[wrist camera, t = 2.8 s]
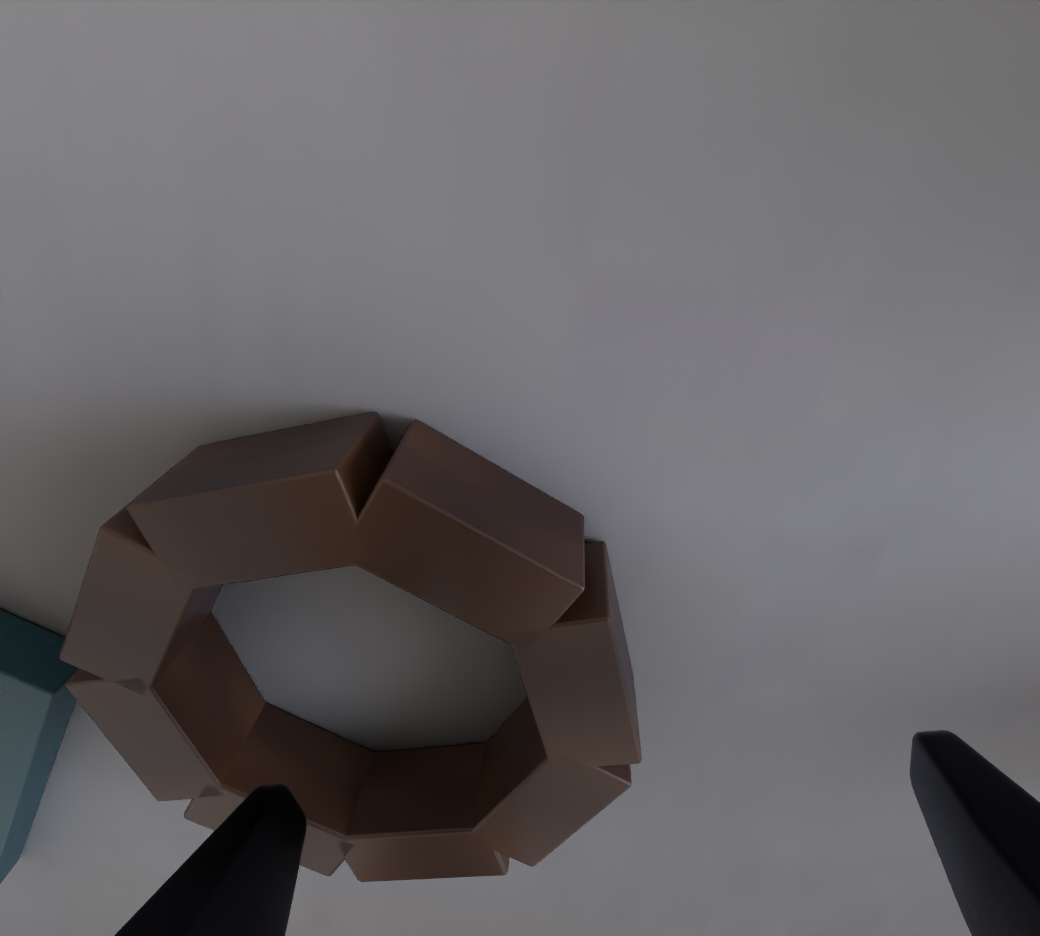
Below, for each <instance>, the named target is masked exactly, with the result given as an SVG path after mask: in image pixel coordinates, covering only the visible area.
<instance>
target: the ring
mask: <svg viewBox="0 0 1040 936" xmlns="http://www.w3.org/2000/svg"><path fill="white" fill-rule="evenodd" d="M352 565H356V566H358V567H360V568H362V569H364V570H366V571H368V572H370V573H372V574H374V575H376V576H378V577H380V578H382V579H384V580H386V581H387V582H389V583H391V584H393V585H395V586H397V587H399V588H401V589H403V590H405V591H407V592H409V593H411V594H413V595H415V596H417V597H419V598H420V599H422V600H424V601H426V602H428V603H430V604H432V605H434V606H436V607H438V608H440V609H442V610H444V611H446V612H448V613H450V614H452V615H453V616H455V617H457V618H459V619H461V620H463V621H465V622H467V623H469V624H471V625H473V626H475V627H477V628H479V629H481V630H483V631H485V632H486V633H488V634H490V635H492V636H494V637H496V638H498V639H500V640H502V641H504V642H506V643H508V644H510V645H511V647H512V650H513V653H514V656H515V659H516V663H517V666H518V669H519V672H520V675H521V678H522V681H523V684H524V687H525V690H526V693H527V696H528V698H527V699H526V701H525V702H524V703H523V704H522V705H521V706H520V707H519V708H518V709H517V710H516V711H515V712H514V713H513V714H512V715H511V716H510V718H509V719H508V720H507V721H506V722H505V723H504V724H503V725H502V726H501V727H500V728H499V729H498V730H497V731H496V732H495V734H494V735H493V736H492V737H491V738H490V739H489V740H488V741H487V742H486V743H479V744H468V745H457V746H445V747H434V748H423V749H411V750H400V751H389V752H377V753H374V752H372V751H369V750H367V749H365V748H363V747H361V746H358V745H356V744H354V743H352V742H350V741H347V740H345V739H343V738H341V737H339V736H336V735H334V734H332V733H330V732H328V731H325V730H323V729H321V728H319V727H317V726H314V725H312V724H310V723H308V722H306V721H303V720H301V719H299V718H297V717H295V716H292V715H290V714H288V713H286V712H284V711H281V710H279V709H277V708H275V707H273V706H270V705H268V704H266V703H265V701H264V699H263V698H262V696H261V694H260V693H259V691H258V689H257V688H256V686H255V684H254V683H253V681H252V679H251V678H250V676H249V674H248V673H247V671H246V669H245V668H244V666H243V664H242V663H241V661H240V659H239V658H238V656H237V654H236V653H235V651H234V649H233V648H232V646H231V644H230V643H229V641H228V639H227V638H226V636H225V635H224V633H223V631H222V630H221V628H220V626H219V625H218V623H217V621H216V620H215V618H214V616H213V615H212V613H211V609H212V607H213V605H214V602H215V600H216V598H217V596H218V594H219V592H220V590H221V588H222V586H223V585H224V584H231V583H238V582H244V581H251V580H258V579H264V578H271V577H278V576H285V575H291V574H298V573H305V572H311V571H318V570H325V569H332V568H338V567H345V566H352ZM59 658H60V659H61V660H62V661H64V662H66V663H69V664H71V665H73V666H76V667H78V668H80V669H79V670H78V671H77V672H76V673H75V674H74V675H73V676H72V677H71V678H70V680H69V681H68V682H67V683H66V687H67V688H68V689H69V691H70V692H71V693H72V694H73V696H74V697H75V698H76V699H77V701H78V702H79V703H80V704H81V706H82V707H83V708H84V710H85V711H86V712H87V713H88V715H89V716H90V717H91V718H92V720H93V721H94V722H95V723H96V725H97V726H98V727H99V728H100V730H101V731H102V732H103V733H104V735H105V736H106V737H107V738H108V740H109V741H110V742H111V743H112V745H113V746H114V747H115V748H116V750H117V751H118V752H119V753H120V755H121V756H122V757H123V758H124V760H125V761H126V762H127V763H128V765H129V766H130V767H131V768H132V770H133V771H134V772H135V773H136V775H137V776H138V777H139V778H140V780H141V781H142V782H143V783H144V785H145V786H146V787H147V788H148V790H149V791H150V792H151V793H152V795H153V796H154V797H155V798H156V800H158V801H168V800H181V799H192V800H191V802H190V804H189V806H188V807H187V809H186V811H185V812H184V818H185V819H187V820H190V821H192V822H195V823H197V824H200V825H202V826H205V827H207V828H210V829H212V830H216V829H217V828H218V827H219V826H220V825H221V824H222V823H223V822H224V821H225V820H226V818H227V817H228V816H229V815H230V814H231V813H232V812H233V811H234V810H235V809H236V808H237V807H238V806H239V805H240V804H241V803H242V802H243V801H244V800H245V799H246V798H247V797H248V796H249V794H250V793H251V792H252V791H254V790H255V789H256V788H257V787H259V786H262V785H270V784H284V785H286V786H287V787H288V788H289V790H290V791H291V793H292V794H293V796H294V797H295V799H296V801H297V802H298V804H299V805H300V807H301V809H302V810H303V812H304V814H305V817H306V823H307V826H306V835H305V840H304V845H303V850H302V855H301V860H300V864H299V865H301V866H303V867H306V868H308V869H311V870H313V871H316V872H318V873H321V874H323V875H326V876H331V875H332V874H333V873H334V871H335V870H336V869H337V868H338V867H339V866H340V865H341V864H342V862H343V861H344V860H346V862H347V863H348V865H349V867H350V868H351V870H352V871H353V873H354V875H355V876H356V878H357V879H358V880H359V881H361V882H370V881H391V880H412V879H433V878H454V877H475V876H496V875H505V874H507V872H508V865H509V857H511V858H513V859H515V860H518V861H520V862H522V863H525V864H527V865H529V866H535V865H536V864H537V863H538V862H540V861H541V860H542V859H543V858H545V857H546V856H547V855H548V854H549V853H551V852H552V851H553V850H554V849H555V848H557V847H558V846H559V845H560V844H561V843H563V842H564V841H565V840H566V839H568V838H569V837H570V836H571V835H572V834H574V833H575V832H576V831H577V830H578V829H580V828H581V827H582V826H583V825H584V824H586V823H587V822H588V821H589V820H590V819H592V818H593V817H594V816H595V815H597V814H598V813H599V812H600V811H601V810H603V809H604V808H605V807H606V806H607V805H609V804H610V803H611V802H612V801H613V800H615V799H616V798H617V797H618V796H619V795H621V794H622V793H623V792H624V791H626V790H627V789H628V788H629V787H630V786H631V770H630V764H637V763H640V762H641V760H642V757H641V747H640V737H639V727H638V717H637V708H636V698H635V688H634V678H633V671H632V667H631V662H630V657H629V652H628V648H627V643H626V638H625V633H624V629H623V624H622V619H621V614H620V609H619V605H618V600H617V595H616V590H615V586H614V581H613V576H612V571H611V567H610V562H609V557H608V552H607V547H606V544H605V542H604V541H599V542H592V543H585V544H584V517H583V515H582V514H580V513H579V512H577V511H575V510H573V509H572V508H570V507H568V506H566V505H565V504H563V503H561V502H560V501H558V500H556V499H554V498H553V497H551V496H549V495H547V494H546V493H544V492H542V491H540V490H539V489H537V488H535V487H534V486H532V485H530V484H528V483H527V482H525V481H523V480H521V479H520V478H518V477H516V476H514V475H513V474H511V473H509V472H508V471H506V470H504V469H502V468H501V467H499V466H497V465H495V464H494V463H492V462H490V461H488V460H487V459H485V458H483V457H482V456H480V455H478V454H476V453H475V452H473V451H471V450H469V449H468V448H466V447H464V446H462V445H461V444H459V443H457V442H456V441H454V440H452V439H450V438H449V437H447V436H445V435H443V434H442V433H440V432H438V431H436V430H435V429H433V428H431V427H429V426H428V425H426V424H424V423H423V422H421V421H419V420H414V421H412V422H411V424H410V426H409V427H408V429H407V431H406V433H405V434H404V436H403V438H402V439H401V441H400V443H399V445H398V446H397V448H396V450H395V451H394V453H392V450H391V448H390V445H389V442H388V440H387V437H386V434H385V432H384V429H383V426H382V424H381V421H380V418H379V415H378V413H377V412H369V413H364V414H359V415H354V416H349V417H344V418H338V419H333V420H328V421H323V422H318V423H313V424H308V425H303V426H298V427H293V428H288V429H283V430H277V431H272V432H267V433H262V434H257V435H252V436H247V437H242V438H237V439H232V440H227V441H222V442H217V443H211V444H206V445H201V446H199V447H197V448H196V449H195V450H194V451H192V452H191V453H190V454H189V455H188V456H186V457H185V458H184V459H183V460H182V461H180V462H179V463H178V464H177V465H176V466H174V467H172V468H171V469H170V470H169V471H168V472H166V473H165V474H164V475H163V476H161V477H160V478H159V479H158V480H157V481H155V482H154V483H153V484H152V485H151V486H149V487H148V488H147V489H146V490H145V491H143V492H142V493H141V494H140V495H139V496H137V497H136V498H135V499H134V500H133V501H131V502H130V503H129V504H128V505H127V506H125V507H124V508H123V509H122V510H120V511H119V512H118V513H117V514H116V515H114V516H113V517H112V518H111V519H110V520H108V521H107V522H106V523H105V524H104V525H102V526H101V527H100V530H99V533H98V536H97V539H96V543H95V546H94V549H93V552H92V555H91V558H90V561H89V564H88V568H87V571H86V574H85V577H84V580H83V583H82V586H81V590H80V593H79V596H78V599H77V602H76V605H75V608H74V611H73V615H72V618H71V621H70V624H69V627H68V630H67V633H66V637H65V640H64V643H63V646H62V649H61V652H60V655H59Z"/></svg>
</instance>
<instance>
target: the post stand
mask: <svg viewBox="0 0 1040 936" xmlns="http://www.w3.org/2000/svg"><path fill="white" fill-rule="evenodd" d="M64 640H65V638H63V637H61V636H58V635H56V634H54V633H52V632H49V631H47V630H45V629H43V628H40V627H38V626H36V625H34V624H31V623H29V622H27V621H25V620H22V619H20V618H18V617H16V616H14V615H11V614H9V613H7V612H5V611H2V610H0V883H1V882H2V881H3V880H4V878H5V877H6V876H7V874H8V873H9V872H10V870H11V869H12V868H13V866H14V865H15V864H16V863H17V861H18V860H19V858H20V855H21V852H22V850H23V847H24V844H25V841H26V838H27V836H28V833H29V830H30V827H31V824H32V822H33V819H34V816H35V813H36V811H37V808H38V805H39V802H40V799H41V797H42V794H43V791H44V788H45V785H46V783H47V780H48V777H49V774H50V772H51V769H52V766H53V763H54V760H55V758H56V755H57V752H58V749H59V746H60V744H61V741H62V738H63V735H64V733H65V730H66V727H67V724H68V721H69V719H70V716H71V713H72V710H73V707H74V705H75V702H76V698H75V697H74V696H73V694H72V693H71V692H70V691H69V689H68V688H67V687H66V683H67V682H68V681H69V680H70V678H71V677H72V676H73V675H74V674H75V673H76V672H77V671H78V670H79V669H80V668H78V667H76V666H73V665H71V664H69V663H66V662H64V661H62V660H61V659H60V658H59V655H60V652H61V649H62V646H63V643H64Z"/></svg>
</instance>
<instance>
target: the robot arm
mask: <svg viewBox="0 0 1040 936" xmlns="http://www.w3.org/2000/svg"><path fill="white" fill-rule="evenodd" d="M910 779H911V783H912V787H913V790H914V793H915V796H916V798H917V801H918V803H919V806H920V808H921V811H922V813H923V816H924V818H925V821H926V823H927V826H928V829H929V831H930V834H931V836H932V839H933V841H934V844H935V846H936V849H937V851H938V854H939V857H940V859H941V862H942V864H943V867H944V869H945V872H946V874H947V877H948V879H949V882H950V884H951V887H952V890H953V892H954V895H955V897H956V900H957V902H958V905H959V907H960V909H961V912H962V914H963V917H964V919H965V921H966V924H967V926H968V928H969V930H970V932H971V934H972V936H1040V802H1039V801H1037V800H1036V799H1035V798H1034V797H1032V796H1031V795H1030V794H1029V793H1027V792H1026V791H1025V790H1024V789H1022V788H1021V787H1020V786H1019V785H1017V784H1016V783H1015V782H1014V781H1013V780H1011V779H1010V778H1009V777H1008V776H1006V775H1005V774H1004V773H1003V772H1001V771H1000V770H999V769H998V768H996V767H995V766H994V765H993V764H991V763H990V762H989V761H988V760H986V759H985V758H984V757H983V756H981V755H980V754H979V753H978V752H977V751H975V750H974V749H973V748H972V747H970V746H969V745H968V744H967V743H965V742H964V741H963V740H962V739H960V738H959V737H958V736H956V735H955V734H953V733H952V732H949V731H946V730H939V731H926V732H918V733H916V734H915V735H914V736H913V740H912V751H911V763H910ZM306 826H307V823H306V817H305V814H304V812H303V810H302V809H301V807H300V805H299V804H298V802H297V801H296V799H295V797H294V796H293V794H292V793H291V791H290V790H289V788H288V787H287V786H286V785H284V784H270V785H262V786H259V787H257V788H256V789H255V790H254V791H252V792H251V793H250V794H249V796H248V797H247V798H246V799H245V800H244V801H243V802H242V803H241V804H240V805H239V806H238V807H237V808H236V809H235V810H234V811H233V812H232V813H231V814H230V815H229V816H228V817H227V818H226V820H225V821H224V822H223V823H222V824H221V825H220V826H219V827H218V828H217V829H216V830H215V831H214V832H213V833H212V834H211V835H210V836H209V837H208V838H207V839H206V840H205V841H204V843H203V844H202V845H201V846H200V847H199V848H198V849H197V850H196V851H195V852H194V853H193V854H192V855H191V856H190V857H189V858H188V859H187V860H186V861H185V862H184V863H183V864H182V866H181V867H180V868H179V869H178V870H177V871H176V872H175V873H174V874H173V875H172V876H171V877H170V878H169V879H168V880H167V881H166V882H165V883H164V884H163V885H162V886H161V887H160V888H159V890H158V891H157V892H156V893H155V894H154V895H153V896H152V897H151V898H150V899H149V900H148V901H147V902H146V903H145V904H144V905H143V906H142V907H141V908H140V909H139V910H138V911H137V913H136V914H135V915H134V916H133V917H132V918H131V919H130V920H129V921H128V922H127V923H126V924H125V925H124V926H123V927H122V928H121V929H120V930H119V931H118V932H117V933H116V934H115V936H285V932H286V928H287V924H288V919H289V914H290V909H291V904H292V899H293V894H294V889H295V884H296V879H297V874H298V869H299V864H300V860H301V855H302V850H303V845H304V840H305V835H306Z"/></svg>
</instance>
